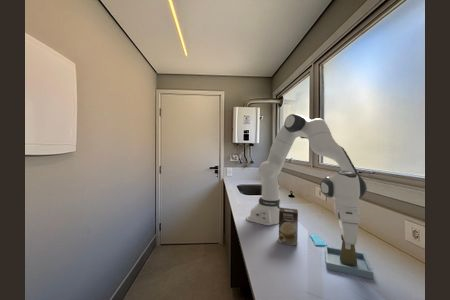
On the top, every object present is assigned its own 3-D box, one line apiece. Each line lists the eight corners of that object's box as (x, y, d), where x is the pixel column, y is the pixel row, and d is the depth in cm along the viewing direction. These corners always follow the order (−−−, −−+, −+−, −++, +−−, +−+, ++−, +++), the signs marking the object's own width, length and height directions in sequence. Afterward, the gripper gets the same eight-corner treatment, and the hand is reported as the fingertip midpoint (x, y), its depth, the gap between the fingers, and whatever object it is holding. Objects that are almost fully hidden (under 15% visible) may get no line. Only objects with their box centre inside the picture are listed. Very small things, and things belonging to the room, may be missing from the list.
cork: (336, 256, 83) (336, 231, 83) (350, 256, 84) (350, 230, 84) (346, 265, 77) (346, 237, 77) (360, 264, 78) (361, 237, 78)
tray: (326, 268, 78) (326, 262, 77) (324, 251, 90) (324, 246, 90) (373, 279, 71) (373, 272, 71) (364, 259, 84) (364, 253, 84)
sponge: (320, 235, 106) (309, 233, 107) (328, 246, 94) (315, 243, 95) (319, 237, 106) (308, 235, 107) (328, 249, 94) (315, 246, 95)
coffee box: (278, 243, 98) (278, 210, 98) (279, 237, 104) (279, 207, 104) (297, 246, 95) (297, 212, 95) (297, 240, 101) (297, 208, 101)
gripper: (335, 203, 91) (335, 233, 91) (340, 218, 73) (340, 255, 73) (351, 205, 89) (351, 235, 89) (361, 221, 70) (361, 259, 70)
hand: (346, 245), depth 81 cm, fingers closed on cork, 4 cm apart
